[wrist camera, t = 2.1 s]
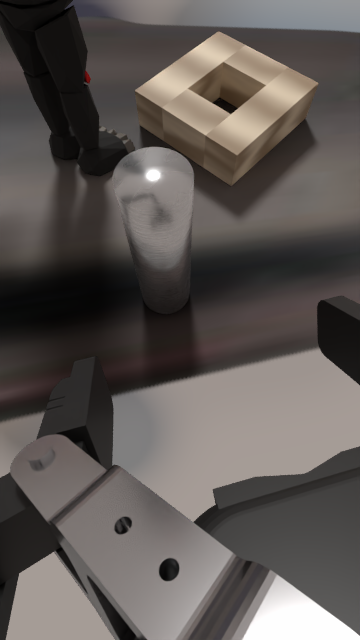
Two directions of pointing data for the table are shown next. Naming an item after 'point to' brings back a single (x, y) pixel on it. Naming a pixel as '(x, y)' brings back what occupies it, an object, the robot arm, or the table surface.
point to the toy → (61, 81)
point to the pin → (158, 223)
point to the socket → (213, 122)
